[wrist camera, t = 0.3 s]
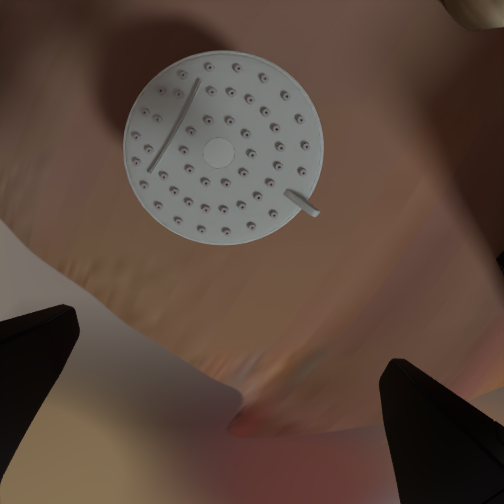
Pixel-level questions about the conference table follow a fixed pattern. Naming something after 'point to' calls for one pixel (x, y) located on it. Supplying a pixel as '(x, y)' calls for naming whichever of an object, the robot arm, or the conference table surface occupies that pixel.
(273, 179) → the showerhead
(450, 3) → the beech peg
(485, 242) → the conference table surface
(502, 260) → the uninterruptible power supply
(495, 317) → the conference table surface
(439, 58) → the conference table surface
